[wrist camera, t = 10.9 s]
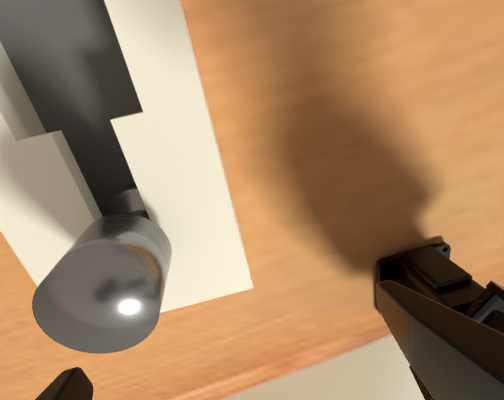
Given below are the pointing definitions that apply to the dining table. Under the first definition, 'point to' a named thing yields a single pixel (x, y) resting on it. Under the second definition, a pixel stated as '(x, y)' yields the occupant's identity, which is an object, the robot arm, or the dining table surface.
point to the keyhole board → (112, 138)
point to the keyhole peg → (107, 281)
